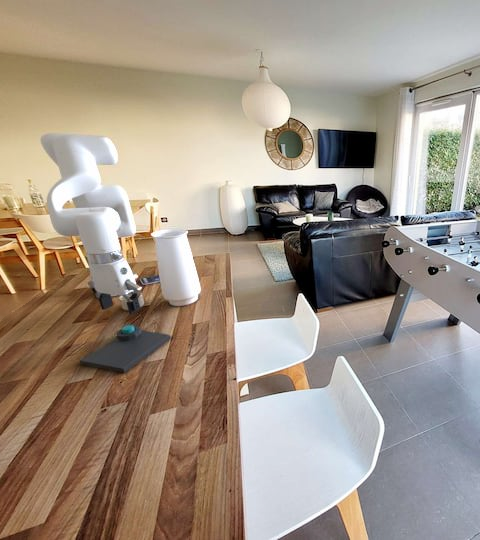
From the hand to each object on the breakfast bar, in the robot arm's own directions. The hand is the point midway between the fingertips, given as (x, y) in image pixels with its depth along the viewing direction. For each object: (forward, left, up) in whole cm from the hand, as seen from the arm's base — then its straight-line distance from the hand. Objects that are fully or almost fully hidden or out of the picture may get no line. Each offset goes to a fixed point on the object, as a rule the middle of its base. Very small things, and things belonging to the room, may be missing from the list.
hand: (121, 309), depth 87 cm
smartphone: (-41, -26, -11) cm, 50 cm away
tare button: (0, 0, -8) cm, 8 cm away
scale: (+5, +5, -11) cm, 13 cm away
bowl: (-17, -16, -11) cm, 26 cm away
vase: (-26, -2, -11) cm, 28 cm away
